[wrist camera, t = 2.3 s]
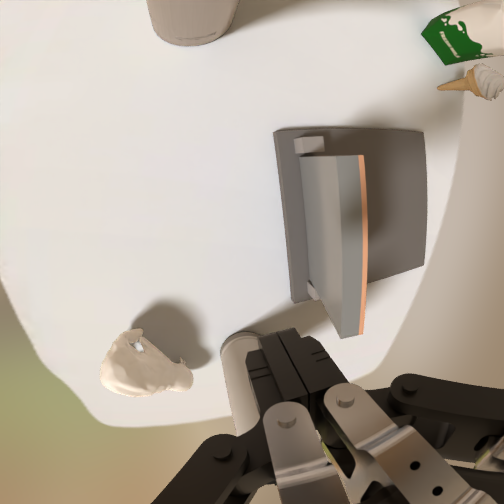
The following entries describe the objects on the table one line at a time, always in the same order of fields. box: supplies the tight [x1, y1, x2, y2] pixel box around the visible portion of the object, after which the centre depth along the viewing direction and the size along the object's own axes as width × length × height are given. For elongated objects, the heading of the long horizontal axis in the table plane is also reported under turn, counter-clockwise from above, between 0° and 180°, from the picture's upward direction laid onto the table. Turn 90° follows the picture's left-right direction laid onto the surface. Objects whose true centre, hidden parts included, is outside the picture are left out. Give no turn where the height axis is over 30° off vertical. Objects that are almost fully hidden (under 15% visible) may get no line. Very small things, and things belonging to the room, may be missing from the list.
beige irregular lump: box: [100, 328, 193, 397], centre depth 29 cm, size 6×8×12 cm
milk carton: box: [421, 0, 504, 65], centre depth 17 cm, size 9×9×20 cm
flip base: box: [273, 128, 427, 303], centre depth 31 cm, size 20×22×3 cm
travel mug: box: [220, 332, 277, 485], centre depth 26 cm, size 6×7×20 cm
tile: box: [299, 155, 368, 339], centre depth 24 cm, size 14×2×12 cm, turn 8°
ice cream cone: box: [437, 64, 504, 101], centre depth 22 cm, size 6×6×15 cm
